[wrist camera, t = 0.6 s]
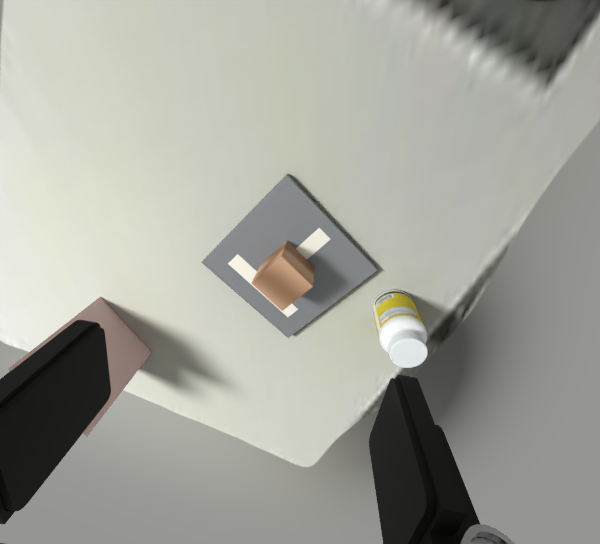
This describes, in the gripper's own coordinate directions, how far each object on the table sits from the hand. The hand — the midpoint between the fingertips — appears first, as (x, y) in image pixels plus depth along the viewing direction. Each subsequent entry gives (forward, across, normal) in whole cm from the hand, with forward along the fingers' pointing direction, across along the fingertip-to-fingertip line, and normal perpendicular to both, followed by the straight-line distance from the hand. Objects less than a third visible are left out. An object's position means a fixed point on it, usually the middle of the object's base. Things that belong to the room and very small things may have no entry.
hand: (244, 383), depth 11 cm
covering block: (+30, 0, +9) cm, 31 cm away
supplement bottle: (+31, -14, +12) cm, 36 cm away
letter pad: (+31, 0, +9) cm, 32 cm away
